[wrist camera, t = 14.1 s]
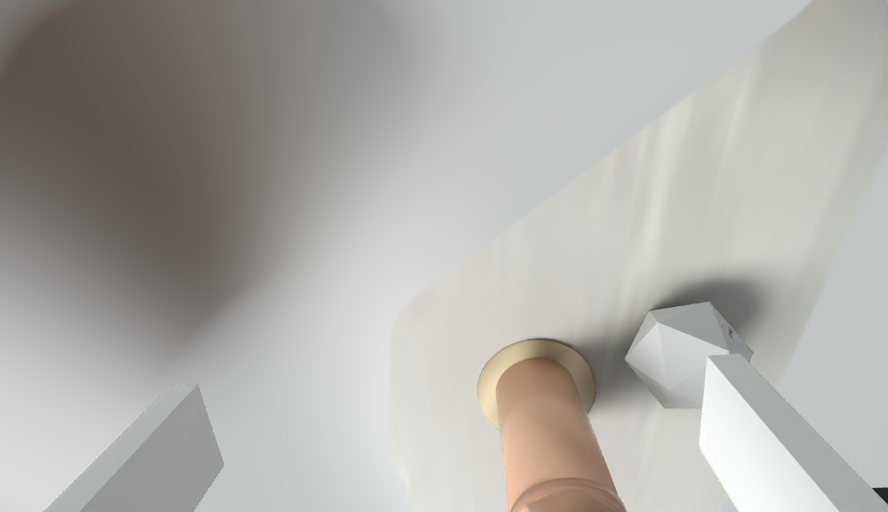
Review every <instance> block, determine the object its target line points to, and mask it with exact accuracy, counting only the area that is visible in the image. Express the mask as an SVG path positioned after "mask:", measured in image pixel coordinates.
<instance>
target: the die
mask: <svg viewBox="0 0 888 512" xmlns="http://www.w3.org/2000/svg"><path fill="white" fill-rule="evenodd" d="M729 354H741V355H742V356H743V357H744V358H745V359H746V360H747V361H748V362H749V361H750V359H751V356H752V354H753V351H752V350H751V349H750V348H749V347H748V345H747V344H746V343H745V342H744V341H743V340H742V339H741V337H740V336H739V335H738V334H737V333H736V332H735V330H734V329H733V328H732V327H731V326H730V325H729V324H728V322H727V321H726V320H725V319H724V318H723V317H722V316H721V314H720V313H719V312H718V311H717V310H716V309H715V307H714V306H713V305H712V304H711V303H710V302H703V303H696V304H690V305H683V306H677V307H670V308H664V309H657V310H651V311H648V313H647V315H646V317H645V319H644V321H643V323H642V325H641V327H640V329H639V331H638V333H637V335H636V337H635V339H634V341H633V343H632V345H631V347H630V349H629V351H628V353H627V355H626V357H625V359H624V360H625V361H626V362H627V363H628V365H629V366H630V367H631V368H632V370H633V371H634V372H635V373H636V374H637V376H638V377H639V378H640V379H641V380H642V382H643V383H644V384H645V385H646V387H647V388H648V389H649V390H650V391H651V393H652V394H653V395H654V396H655V397H656V399H657V400H658V401H659V402H660V404H661V405H662V406H663V407H664V408H702V407H703V396H704V385H705V374H706V363H707V356H711V355H729Z"/></svg>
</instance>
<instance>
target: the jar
mask: <svg viewBox="0 0 888 512" xmlns="http://www.w3.org/2000/svg"><path fill="white" fill-rule="evenodd" d="M496 404H497V413H498V422H499V431H500V440H501V449H502V459H503V468H504V477H505V486H506V495H507V504H508V512H627V511H626V508H625V506H624V504H623V502H622V501H621V499H620V498H619V496H618V494H617V491H616V489H615V486H614V483H613V481H612V478H611V475H610V473H609V470H608V468H607V465H606V462H605V460H604V457H603V455H602V452H601V449H600V447H599V444H598V441H597V439H596V436H595V434H594V431H593V428H592V426H591V423H590V420H589V418H588V415H587V413H586V410H585V407H584V405H583V402H582V399H581V397H580V394H579V392H578V389H577V386H576V384H575V381H574V379H573V377H572V375H571V373H570V372H569V371H568V370H567V369H566V368H565V367H564V366H562V365H561V364H559V363H557V362H555V361H553V360H550V359H545V358H530V359H525V360H522V361H519V362H517V363H515V364H513V365H512V366H510V367H509V368H508V369H506V370H505V371H504V373H503V374H502V375H501V377H500V378H499V380H498V382H497V386H496Z"/></svg>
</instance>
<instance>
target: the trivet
mask: <svg viewBox="0 0 888 512" xmlns="http://www.w3.org/2000/svg"><path fill="white" fill-rule="evenodd" d="M530 358H545V359H550V360H553V361H555V362H557V363H559V364H561V365H562V366H564V367H565V368H566V369H567V370H568V371H569V372H570V373H571V375H572V377H573V379H574V381H575V384H576V386H577V389H578V392H579V394H580V397H581V399H582V402H583V405H584V407H585V410H586V413H587V414H588V413H589V411H590V409H591V407H592V404H593V402H594V398H595V389H596V388H595V380H594V376H593V374H592V371H591V369H590V367H589V365H588V364H587V362H586V361H585V360H584V359H583V357H582V356H581V355H580V354H578V353H577V352H576V351H575V350H573V349H572V348H570V347H568V346H566V345H564V344H561V343H558V342H555V341H550V340H542V339H536V340H526V341H521V342H518V343H515V344H512V345H510V346H508V347H506V348H504V349H502V350H501V351H499V352H498V353H496V354H495V355H494V356H493V357H492V358H491V359H490V360H489V361H488V363H487V364H486V365H485V367H484V368H483V370H482V372H481V375H480V377H479V381H478V387H477V393H478V402H479V406H480V408H481V411H482V413H483V415H484V416H485V417H486V419H487V420H488V421H489V422H490V423H491V424H492V425H493V426H494V427H495V428H496V429H498V430H499V422H498V413H497V404H496V386H497V382H498V380H499V378H500V377H501V375H502V374H503V373H504V371H505V370H506V369H508V368H509V367H510V366H512V365H513V364H515V363H517V362H519V361H522V360H525V359H530Z"/></svg>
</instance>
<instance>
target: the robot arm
mask: <svg viewBox="0 0 888 512" xmlns="http://www.w3.org/2000/svg"><path fill="white" fill-rule="evenodd" d="M699 448H700V450H701V451H702V453H703V454H704V456H705V458H706V459H707V461H708V463H709V464H710V466H711V467H712V469H713V471H714V472H715V474H716V476H717V477H718V479H719V481H720V482H721V484H722V485H723V487H724V489H725V490H726V492H727V494H728V495H729V497H730V498H731V500H732V502H733V503H734V505H735V506H736V508H737V510H738V511H739V512H888V488H871V487H870V486H869V485H868V484H867V483H866V482H865V481H864V480H863V479H862V478H861V477H860V476H859V475H858V474H857V473H856V472H855V471H854V470H853V469H852V468H851V467H850V466H849V465H848V464H847V463H846V462H845V460H843V458H842V457H840V456H839V454H838V453H837V452H836V451H835V450H834V449H833V448H832V447H831V446H830V445H829V444H828V443H827V442H826V441H825V440H824V439H823V438H822V437H821V436H820V435H819V434H818V433H817V432H816V431H815V430H814V429H813V428H812V427H811V426H810V425H809V424H808V423H807V422H806V421H805V420H804V419H803V418H802V416H801V415H800V414H799V413H797V411H796V410H795V409H794V408H793V407H792V406H791V405H790V404H789V403H788V402H787V401H786V400H785V399H784V398H783V397H782V396H781V395H780V394H779V393H778V392H777V391H776V390H775V389H774V388H773V387H772V386H771V385H770V384H769V383H768V382H767V381H766V380H765V379H764V378H763V377H762V375H761V374H760V373H759V372H758V371H757V370H756V369H755V368H754V367H753V366H752V365H751V364H750V363H749V362H748V361H747V360H746V359H745V358H744V357H743V356H742V355H741V354H729V355H711V356H707V363H706V374H705V385H704V396H703V407H702V418H701V429H700V440H699ZM223 466H224V463H223V460H222V457H221V454H220V451H219V448H218V445H217V441H216V438H215V435H214V432H213V429H212V426H211V423H210V420H209V417H208V414H207V411H206V408H205V405H204V402H203V399H202V396H201V393H200V390H199V387H198V384H189V385H171V386H170V387H169V388H168V389H167V390H166V391H165V392H164V393H163V394H162V395H161V396H160V397H159V398H158V399H157V400H156V401H155V402H154V403H153V404H152V405H151V406H150V407H149V408H148V409H147V410H146V411H145V412H144V413H143V414H142V415H141V416H140V417H139V418H138V419H137V420H136V421H135V422H134V423H133V424H132V425H131V426H130V427H128V428H127V429H126V430H125V431H124V432H123V433H122V435H121V436H119V437H118V438H117V439H116V440H115V442H113V443H112V444H111V445H110V446H109V447H108V448H107V449H106V451H104V452H103V453H102V454H101V455H100V456H99V457H98V458H97V459H96V460H95V461H94V462H93V463H92V464H91V465H90V466H89V467H88V468H87V469H86V470H85V471H84V472H83V473H82V474H81V475H80V476H79V477H78V478H77V479H76V480H75V481H74V482H73V483H72V484H71V485H70V486H69V487H68V488H67V489H66V490H65V491H64V492H63V493H62V494H61V495H60V496H59V497H58V498H57V499H56V500H55V501H54V502H53V503H52V504H51V505H50V506H49V507H48V508H47V509H46V510H45V511H44V512H193V511H194V510H195V508H196V507H197V505H198V504H199V502H200V501H201V499H202V498H203V496H204V494H205V493H206V492H207V490H208V488H209V487H210V486H211V484H212V483H213V481H214V480H215V478H216V477H217V475H218V474H219V472H220V471H221V469H222V468H223Z"/></svg>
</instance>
